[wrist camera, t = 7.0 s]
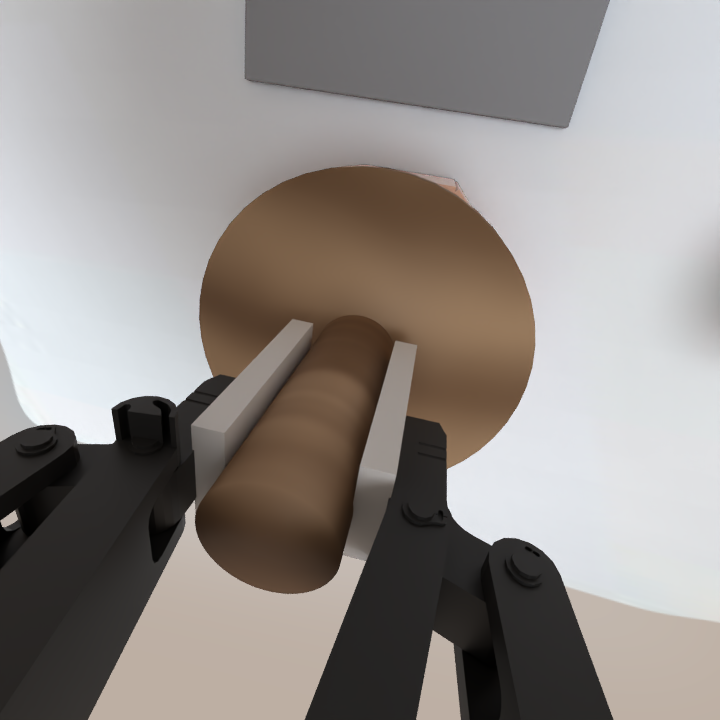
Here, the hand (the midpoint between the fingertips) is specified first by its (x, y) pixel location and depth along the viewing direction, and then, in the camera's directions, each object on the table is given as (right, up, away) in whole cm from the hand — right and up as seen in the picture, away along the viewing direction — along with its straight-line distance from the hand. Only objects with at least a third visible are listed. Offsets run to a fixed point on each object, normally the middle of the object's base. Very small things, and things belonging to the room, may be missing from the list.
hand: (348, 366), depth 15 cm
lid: (0, +1, +2) cm, 3 cm away
